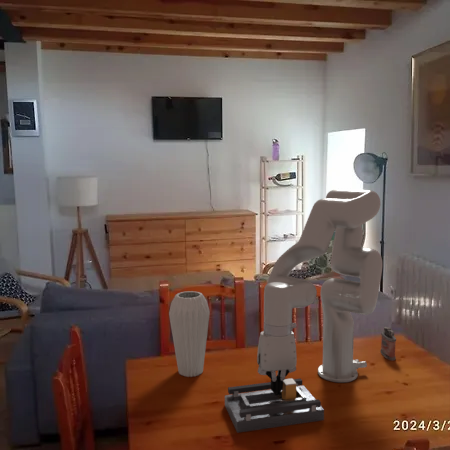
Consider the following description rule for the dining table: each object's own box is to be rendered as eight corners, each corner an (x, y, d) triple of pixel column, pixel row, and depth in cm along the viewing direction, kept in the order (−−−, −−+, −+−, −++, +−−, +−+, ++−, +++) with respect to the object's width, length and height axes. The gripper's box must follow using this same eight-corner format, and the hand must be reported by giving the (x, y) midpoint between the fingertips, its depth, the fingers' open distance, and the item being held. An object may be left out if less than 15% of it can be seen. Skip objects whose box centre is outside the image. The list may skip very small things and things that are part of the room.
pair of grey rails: (300, 385, 138) (300, 378, 137) (320, 410, 124) (321, 402, 124) (227, 394, 133) (227, 387, 132) (241, 421, 119) (241, 413, 119)
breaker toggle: (292, 396, 131) (292, 378, 130) (296, 401, 128) (296, 383, 128) (282, 397, 130) (282, 379, 130) (285, 402, 128) (285, 384, 127)
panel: (303, 394, 138) (303, 379, 137) (323, 420, 125) (324, 402, 124) (224, 405, 133) (224, 388, 132) (237, 432, 119) (237, 414, 119)
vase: (205, 382, 147) (204, 301, 143) (165, 379, 149) (163, 299, 146) (214, 364, 160) (213, 289, 156) (177, 361, 162) (175, 288, 159)
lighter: (378, 351, 169) (379, 324, 168) (387, 350, 170) (388, 324, 168) (388, 360, 161) (389, 332, 160) (397, 359, 162) (398, 332, 160)
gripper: (298, 322, 131) (297, 384, 133) (247, 325, 128) (246, 389, 130) (308, 331, 124) (307, 396, 126) (255, 335, 121) (254, 402, 123)
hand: (276, 392), depth 128 cm, fingers closed
